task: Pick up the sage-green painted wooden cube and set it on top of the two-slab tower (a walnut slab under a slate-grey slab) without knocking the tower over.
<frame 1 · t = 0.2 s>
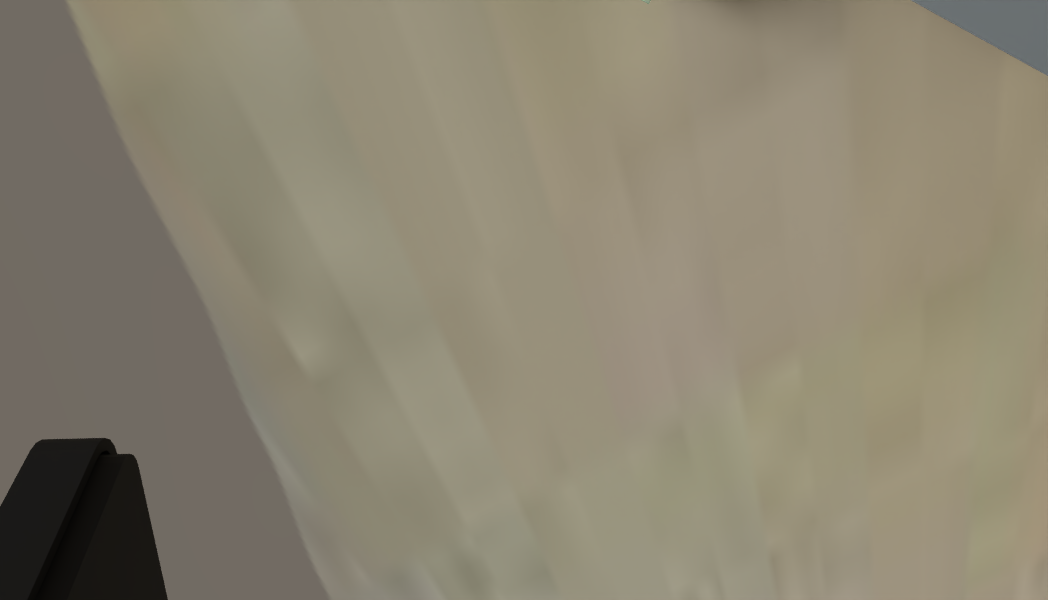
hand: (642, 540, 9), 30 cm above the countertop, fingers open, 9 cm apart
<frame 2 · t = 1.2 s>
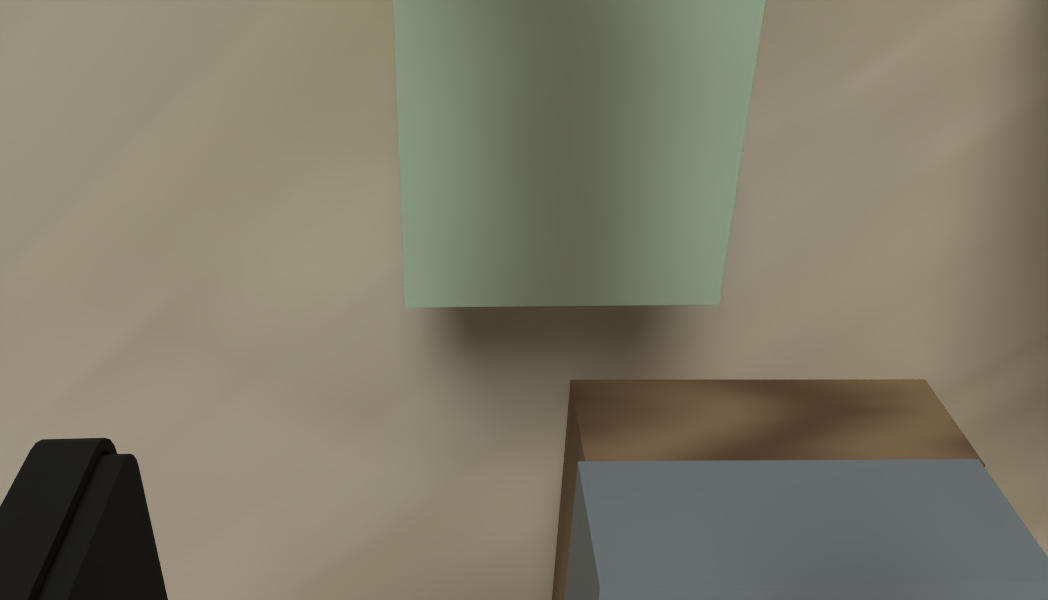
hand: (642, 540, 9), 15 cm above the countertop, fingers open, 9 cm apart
sage block: (543, 54, 22), on the countertop
slab bottom: (721, 507, 30), on the countertop, touching slab top
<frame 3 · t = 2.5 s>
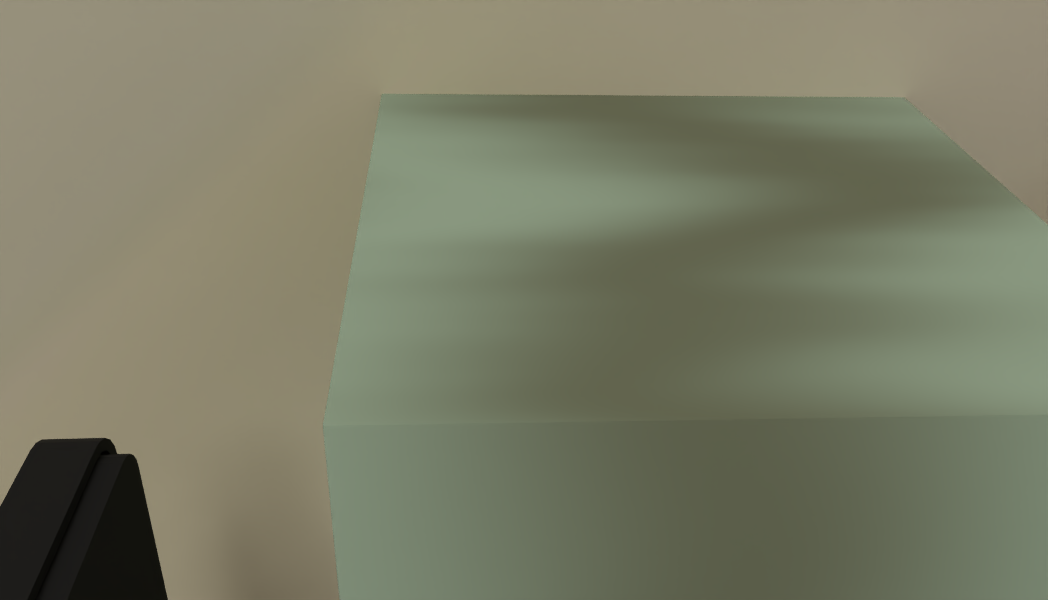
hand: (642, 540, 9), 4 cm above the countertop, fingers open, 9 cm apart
sage block: (625, 315, 13), on the countertop
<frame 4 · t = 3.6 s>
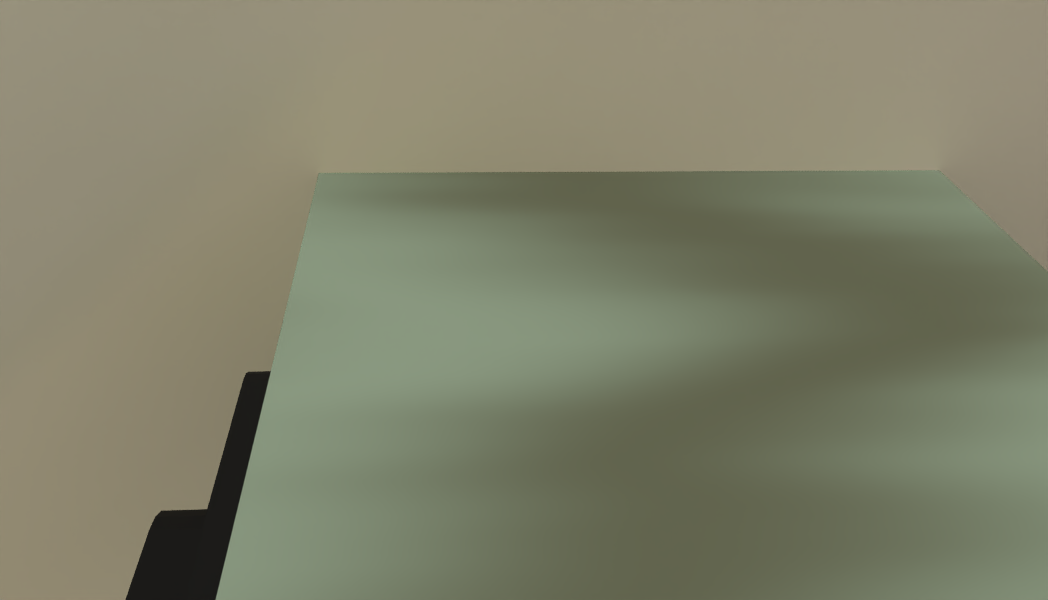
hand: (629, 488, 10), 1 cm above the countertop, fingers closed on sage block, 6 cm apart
sage block: (613, 420, 11), on the countertop, touching gripper
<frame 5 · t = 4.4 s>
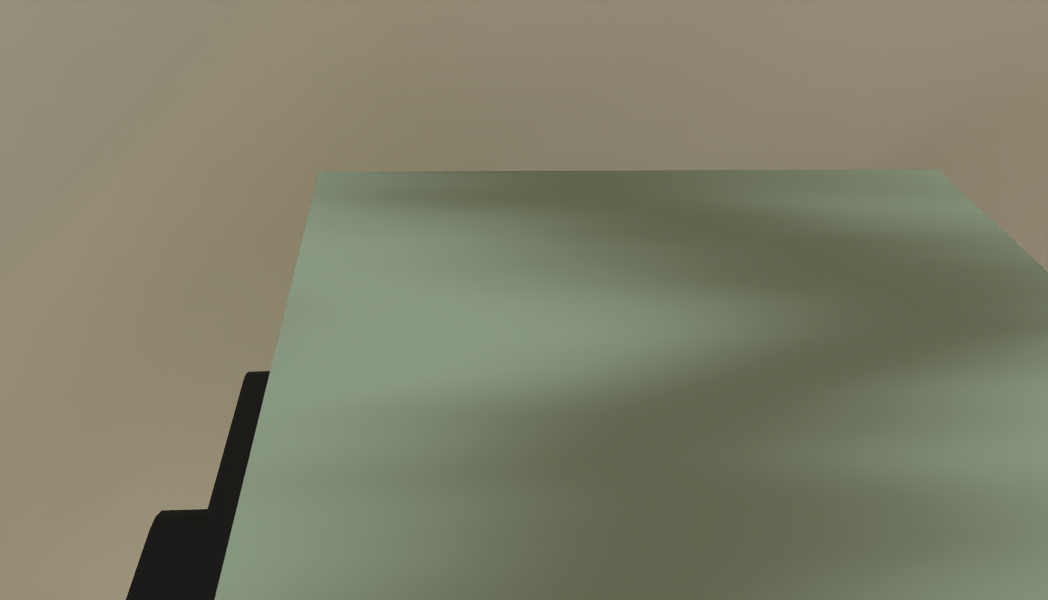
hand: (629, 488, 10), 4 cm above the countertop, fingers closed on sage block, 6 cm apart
sage block: (612, 419, 11), point 3 cm above the countertop, touching gripper
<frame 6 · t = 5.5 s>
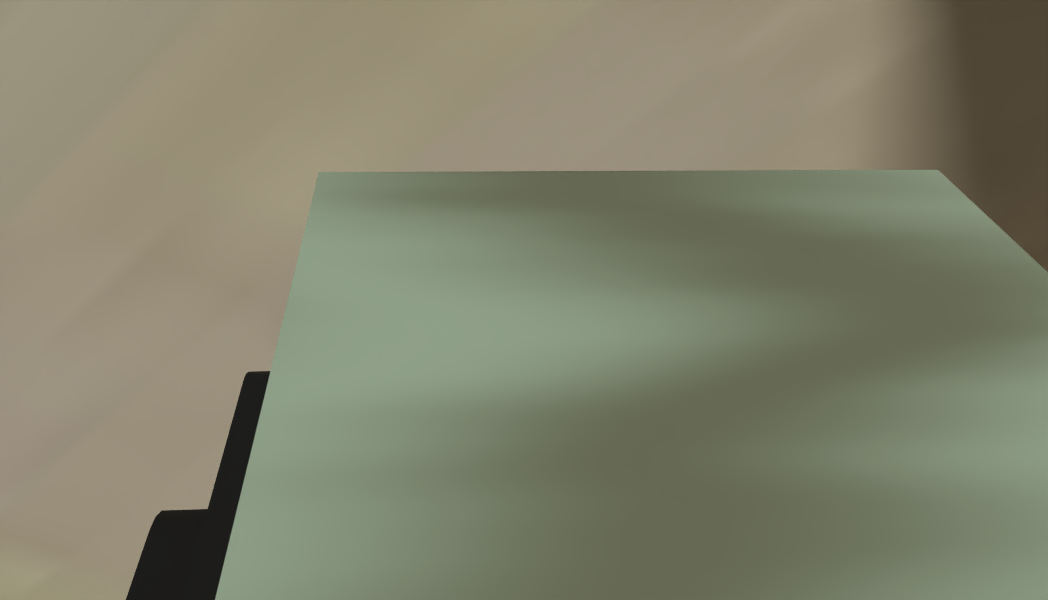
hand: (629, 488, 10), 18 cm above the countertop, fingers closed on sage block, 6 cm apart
sage block: (612, 419, 11), point 17 cm above the countertop, touching gripper
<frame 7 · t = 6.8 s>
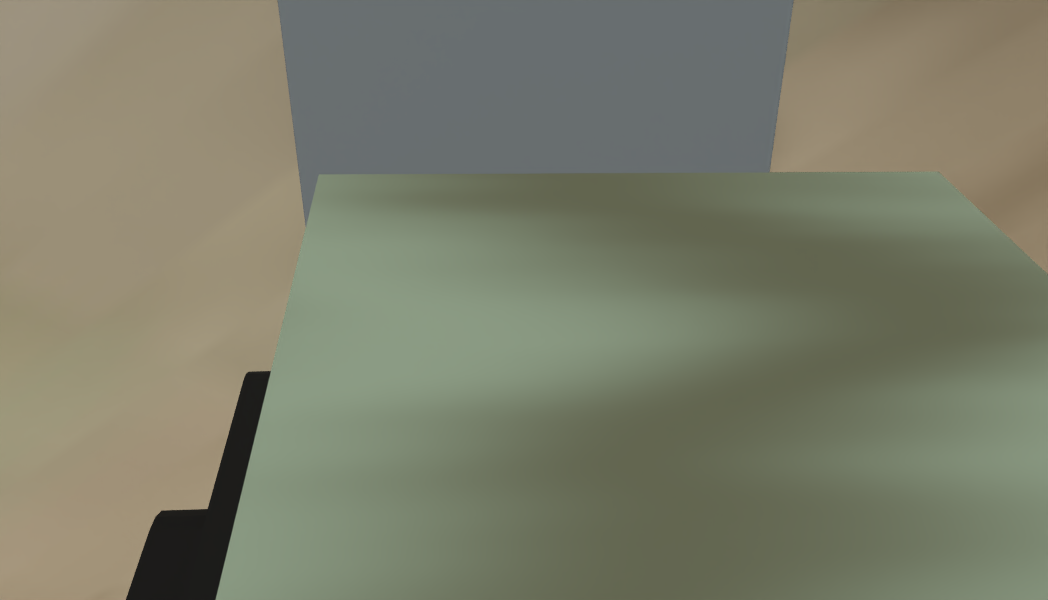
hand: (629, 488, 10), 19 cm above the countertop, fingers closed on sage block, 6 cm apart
slab top: (524, 51, 24), point 4 cm above the countertop, touching slab bottom
sage block: (612, 421, 11), point 18 cm above the countertop, touching gripper
when the fingers open (10 cm above the countertop, at t = 8.6 s): sage block drops 2 cm, resting on slab top.
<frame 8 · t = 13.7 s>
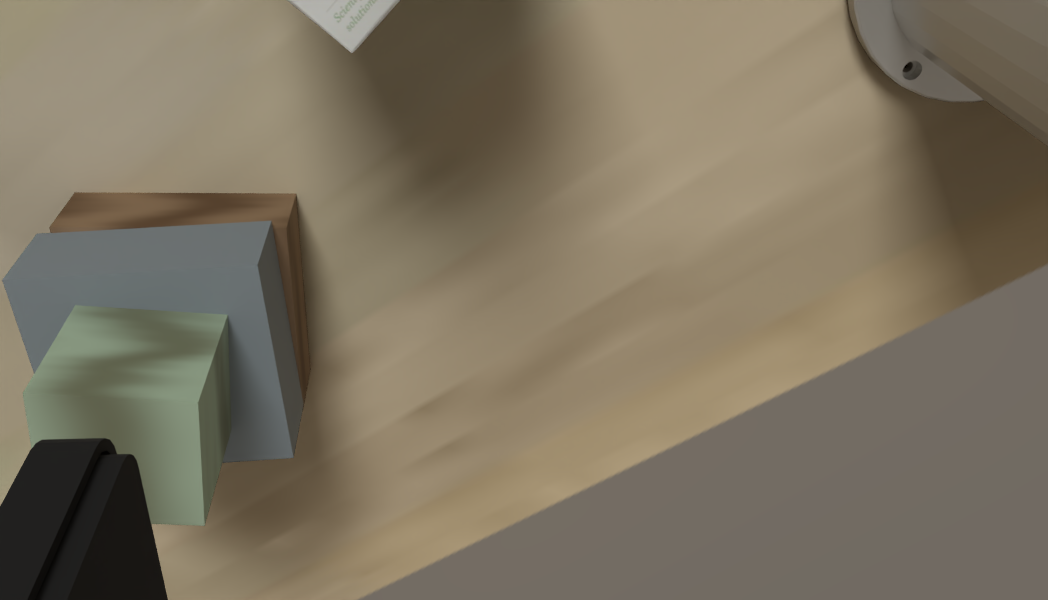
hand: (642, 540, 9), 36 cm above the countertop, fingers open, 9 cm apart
slab top: (178, 324, 46), point 3 cm above the countertop, touching sage block, slab bottom
sage block: (156, 370, 42), point 7 cm above the countertop, touching slab top
slab bottom: (201, 281, 49), on the countertop, touching slab top
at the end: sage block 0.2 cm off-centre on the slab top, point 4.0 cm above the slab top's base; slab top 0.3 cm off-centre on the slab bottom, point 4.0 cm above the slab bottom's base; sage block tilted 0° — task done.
